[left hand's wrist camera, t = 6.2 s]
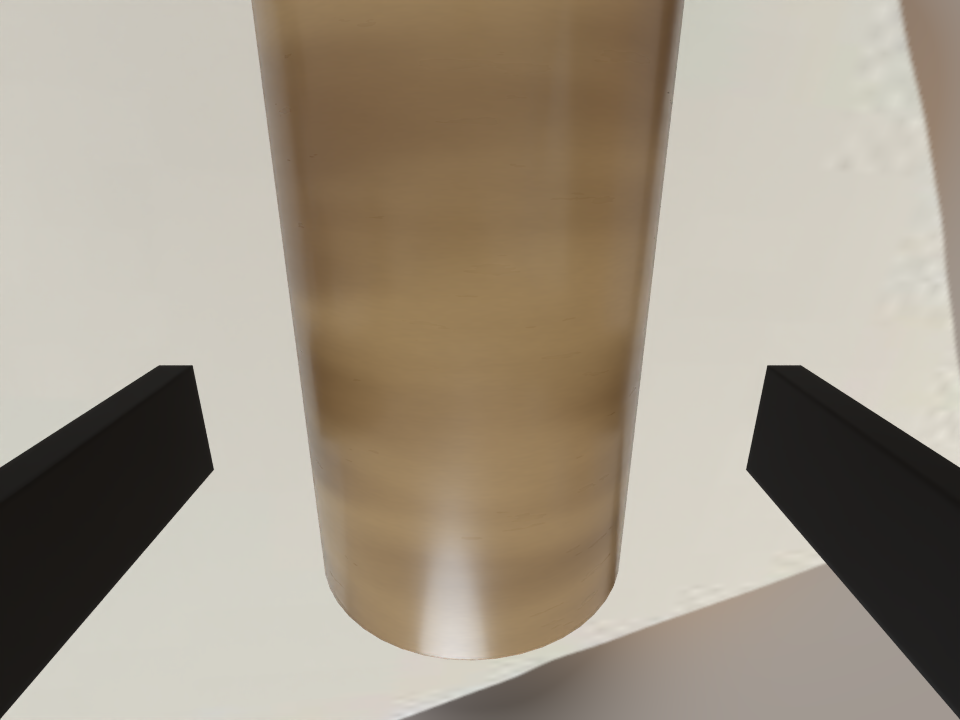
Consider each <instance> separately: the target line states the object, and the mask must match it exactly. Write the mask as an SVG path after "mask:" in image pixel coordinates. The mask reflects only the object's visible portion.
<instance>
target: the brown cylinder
mask: <svg viewBox="0 0 960 720" xmlns="http://www.w3.org/2000/svg"><path fill="white" fill-rule="evenodd" d="M251 1H252V8H253V16H254V24H255V32H256V39H257V47H258V55H259V63H260V70H261V78H262V86H263V93H264V101H265V109H266V117H267V124H268V132H269V140H270V148H271V155H272V163H273V171H274V179H275V186H276V194H277V202H278V210H279V217H280V225H281V233H282V241H283V248H284V256H285V264H286V272H287V279H288V287H289V295H290V303H291V310H292V318H293V326H294V334H295V341H296V349H297V357H298V365H299V372H300V380H301V388H302V396H303V403H304V411H305V419H306V427H307V434H308V442H309V450H310V458H311V465H312V473H313V481H314V489H315V496H316V504H317V512H318V519H319V527H320V535H321V543H322V550H323V558H324V566H325V574H326V577H327V580H328V584H329V587H330V589H331V591H332V593H333V595H334V596H335V598H336V600H337V602H338V603H339V604H340V606H341V607H342V608H343V609H344V610H345V612H346V613H347V614H348V615H349V616H350V617H351V618H352V619H353V620H354V621H355V622H356V623H358V624H359V625H360V626H361V627H362V628H363V629H365V630H367V631H368V632H370V633H371V634H373V635H375V636H376V637H378V638H379V639H381V640H383V641H385V642H388V643H390V644H392V645H395V646H397V647H399V648H401V649H405V650H408V651H412V652H415V653H418V654H422V655H426V656H432V657H438V658H444V659H458V660H482V659H497V658H502V657H507V656H513V655H518V654H522V653H526V652H529V651H532V650H535V649H538V648H541V647H544V646H546V645H548V644H551V643H553V642H555V641H557V640H559V639H561V638H563V637H565V636H566V635H568V634H570V633H571V632H573V631H574V630H576V629H577V628H579V627H580V626H581V625H583V624H584V623H585V622H586V621H587V620H588V619H589V618H591V617H592V616H593V615H594V614H595V613H596V611H597V610H598V609H599V608H600V607H601V605H602V604H603V603H604V602H605V600H606V599H607V597H608V595H609V593H610V592H611V590H612V588H613V586H614V583H615V580H616V577H617V574H618V568H619V560H620V551H621V542H622V534H623V525H624V517H625V508H626V499H627V491H628V482H629V473H630V465H631V456H632V448H633V439H634V430H635V422H636V413H637V404H638V396H639V387H640V379H641V370H642V361H643V353H644V344H645V335H646V327H647V318H648V310H649V301H650V292H651V284H652V275H653V266H654V258H655V249H656V241H657V232H658V223H659V215H660V206H661V197H662V189H663V180H664V172H665V163H666V154H667V146H668V137H669V128H670V120H671V111H672V103H673V94H674V85H675V77H676V68H677V59H678V51H679V42H680V33H681V25H682V16H683V8H684V0H251Z"/></svg>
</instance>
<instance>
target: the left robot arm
mask: <svg viewBox="0 0 960 720" xmlns="http://www.w3.org/2000/svg"><path fill="white" fill-rule="evenodd" d="M213 470H214V468H213V463H212V458H211V453H210V448H209V444H208V439H207V434H206V429H205V424H204V419H203V414H202V409H201V404H200V399H199V395H198V390H197V385H196V380H195V375H194V370H193V365H159V366H157V367H156V368H154V369H153V370H151V371H150V372H148V373H146V374H145V375H143V376H142V377H140V378H139V379H137V380H136V381H134V382H132V383H131V384H129V385H128V386H126V387H125V388H123V389H122V390H120V391H119V392H117V393H115V394H114V395H112V396H111V397H109V398H108V399H106V400H105V401H103V402H101V403H100V404H98V405H97V406H95V407H94V408H92V409H91V410H89V411H87V412H86V413H84V414H83V415H81V416H80V417H78V418H77V419H75V420H73V421H72V422H70V423H69V424H67V425H66V426H64V427H63V428H61V429H59V430H58V431H56V432H55V433H53V434H52V435H50V436H49V437H47V438H45V439H44V440H42V441H41V442H39V443H38V444H36V445H35V446H33V447H31V448H30V449H28V450H27V451H25V452H24V453H22V454H21V455H19V456H17V457H16V458H14V459H13V460H11V461H10V462H8V463H7V464H5V465H3V466H2V467H0V719H1V718H2V716H3V715H4V714H5V713H6V712H7V711H8V709H9V708H10V707H11V706H12V705H13V704H14V702H15V701H16V700H17V699H18V698H19V697H20V695H21V694H22V693H23V692H24V691H25V690H26V688H27V687H28V686H29V685H30V684H31V683H32V681H33V680H34V679H35V678H36V677H37V676H38V674H39V673H40V672H41V671H42V670H43V669H44V667H45V666H46V665H47V664H48V663H49V662H50V660H51V659H52V658H53V657H54V656H55V655H56V653H57V652H58V651H59V650H60V649H61V648H62V646H63V645H64V644H65V643H66V642H67V641H68V639H69V638H70V637H71V636H72V635H73V634H74V632H75V631H76V630H77V629H78V628H79V627H80V625H81V624H82V623H83V622H84V621H85V619H86V618H87V617H88V616H89V615H90V614H91V612H92V611H93V610H94V609H95V608H96V607H97V605H98V604H99V603H100V602H101V601H102V600H103V598H104V597H105V596H106V595H107V594H108V593H109V591H110V590H111V589H112V588H113V587H114V586H115V584H116V583H117V582H118V581H119V580H120V579H121V577H122V576H123V575H124V574H125V573H126V572H127V570H128V569H129V568H130V567H131V566H132V565H133V563H134V562H135V561H136V560H137V559H138V558H139V556H140V555H141V554H142V553H143V552H144V551H145V549H146V548H147V547H148V546H149V545H150V544H151V542H152V541H153V540H154V539H155V538H156V537H157V535H158V534H159V533H160V532H161V531H162V530H163V528H164V527H165V526H166V525H167V524H168V523H169V521H170V520H171V519H172V518H173V517H174V516H175V514H176V513H177V512H178V511H179V510H180V509H181V507H182V506H183V505H184V504H185V503H186V502H187V500H188V499H189V498H190V497H191V496H192V495H193V493H194V492H195V491H196V490H197V489H198V488H199V486H200V485H201V484H202V483H203V482H204V481H205V479H206V478H207V477H208V476H209V475H210V474H211V472H212V471H213ZM746 470H747V471H748V472H749V474H750V475H751V476H752V477H753V478H754V479H755V481H756V482H757V483H758V484H759V485H760V486H761V488H762V489H763V490H764V491H765V492H766V493H767V495H768V496H769V497H770V498H771V499H772V500H773V502H774V503H775V504H776V505H777V506H778V507H779V509H780V510H781V511H782V512H783V513H784V514H785V516H786V517H787V518H788V519H789V520H790V521H791V523H792V524H793V525H794V526H795V527H796V528H797V530H798V531H799V532H800V533H801V534H802V535H803V537H804V538H805V539H806V540H807V541H808V542H809V544H810V545H811V546H812V547H813V548H814V549H815V551H816V552H817V553H818V554H819V555H820V556H821V558H822V559H823V560H824V561H825V562H826V563H827V565H828V566H829V567H830V568H831V569H832V570H833V572H834V573H835V574H836V575H837V576H838V577H839V579H840V580H841V581H842V582H843V583H844V584H845V586H846V587H847V588H848V589H849V590H850V591H851V593H852V594H853V595H854V596H855V597H856V598H857V600H858V601H859V602H860V603H861V604H862V605H863V607H864V608H865V609H866V610H867V611H868V612H869V614H870V615H871V616H872V617H873V618H874V619H875V621H876V622H877V623H878V624H879V625H880V627H881V628H882V629H883V630H884V631H885V632H886V633H887V635H888V636H889V637H890V638H891V639H892V641H893V642H894V643H895V644H896V645H897V646H898V648H899V649H900V650H901V651H902V652H903V653H904V654H905V656H906V657H907V658H908V659H909V660H910V661H911V663H912V664H913V665H914V666H915V667H916V669H917V670H918V671H919V672H920V673H921V674H922V676H923V677H924V678H925V679H926V680H927V681H928V683H929V684H930V685H931V686H932V687H933V688H934V690H935V691H936V692H937V693H938V694H939V695H940V696H941V698H942V699H943V700H944V701H945V702H946V704H947V705H948V706H949V707H950V708H951V709H952V710H953V712H954V713H955V714H956V715H957V716H958V718H959V719H960V467H958V466H957V465H955V464H953V463H952V462H950V461H949V460H947V459H946V458H944V457H943V456H941V455H939V454H938V453H936V452H935V451H933V450H932V449H930V448H929V447H927V446H925V445H924V444H922V443H921V442H919V441H918V440H916V439H915V438H913V437H911V436H910V435H908V434H907V433H905V432H904V431H902V430H901V429H899V428H897V427H896V426H894V425H893V424H891V423H890V422H888V421H887V420H885V419H883V418H882V417H880V416H879V415H877V414H876V413H874V412H873V411H871V410H869V409H868V408H866V407H865V406H863V405H862V404H860V403H859V402H857V401H855V400H854V399H852V398H851V397H849V396H848V395H846V394H845V393H843V392H841V391H840V390H838V389H837V388H835V387H834V386H832V385H831V384H829V383H828V382H826V381H824V380H823V379H821V378H820V377H818V376H817V375H815V374H814V373H812V372H810V371H809V370H807V369H806V368H804V367H803V366H801V365H767V370H766V375H765V380H764V385H763V390H762V395H761V399H760V404H759V409H758V414H757V419H756V424H755V429H754V434H753V439H752V444H751V448H750V453H749V458H748V463H747V468H746Z"/></svg>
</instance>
